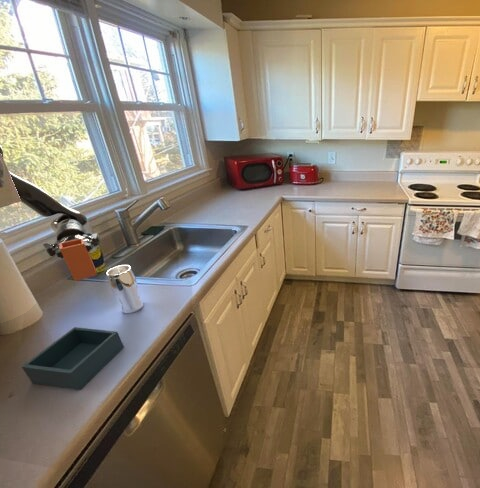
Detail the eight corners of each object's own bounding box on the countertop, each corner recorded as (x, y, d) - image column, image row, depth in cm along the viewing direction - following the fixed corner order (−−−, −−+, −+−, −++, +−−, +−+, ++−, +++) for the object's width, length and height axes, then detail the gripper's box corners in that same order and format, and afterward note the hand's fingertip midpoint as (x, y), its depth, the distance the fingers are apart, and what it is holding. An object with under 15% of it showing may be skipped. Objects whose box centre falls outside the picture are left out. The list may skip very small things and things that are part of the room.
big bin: (32, 383, 69) (20, 366, 67) (82, 342, 81) (74, 327, 79) (80, 389, 67) (70, 373, 65) (124, 347, 79) (117, 331, 77)
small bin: (74, 281, 86) (59, 249, 81) (73, 274, 90) (59, 243, 85) (97, 274, 89) (84, 243, 84) (95, 268, 93) (82, 237, 88)
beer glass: (119, 316, 91) (102, 277, 85) (123, 304, 97) (108, 267, 90) (143, 311, 94) (129, 272, 87) (146, 299, 99) (133, 262, 93)
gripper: (38, 230, 89) (36, 247, 78) (93, 220, 98) (99, 234, 86) (48, 251, 92) (48, 271, 81) (101, 239, 101) (108, 255, 90)
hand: (74, 251), depth 84 cm, fingers closed on small bin, 5 cm apart
